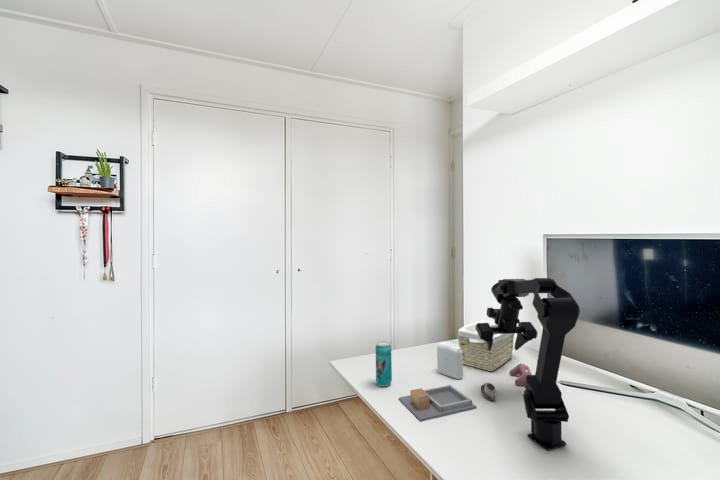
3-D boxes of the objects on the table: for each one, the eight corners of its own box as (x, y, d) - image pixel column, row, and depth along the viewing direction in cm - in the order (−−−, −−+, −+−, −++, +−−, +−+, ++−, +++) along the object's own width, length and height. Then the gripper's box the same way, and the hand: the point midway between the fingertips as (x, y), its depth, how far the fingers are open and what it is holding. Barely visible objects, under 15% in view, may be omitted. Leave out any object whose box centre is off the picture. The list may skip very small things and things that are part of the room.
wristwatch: (489, 403, 107) (489, 387, 107) (478, 394, 113) (477, 379, 113) (499, 401, 108) (498, 386, 108) (487, 393, 114) (486, 378, 114)
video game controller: (526, 391, 118) (536, 374, 117) (514, 384, 119) (523, 367, 118) (519, 379, 128) (527, 363, 127) (507, 373, 128) (516, 357, 128)
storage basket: (480, 349, 157) (480, 318, 156) (516, 357, 145) (516, 324, 145) (456, 364, 139) (455, 329, 139) (495, 375, 128) (494, 337, 128)
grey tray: (476, 408, 104) (476, 393, 104) (420, 421, 97) (420, 405, 97) (449, 388, 117) (449, 375, 117) (398, 399, 110) (398, 385, 110)
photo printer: (435, 372, 132) (435, 341, 131) (442, 369, 134) (442, 338, 134) (458, 380, 124) (457, 347, 123) (464, 377, 126) (464, 345, 126)
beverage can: (373, 385, 120) (372, 344, 120) (380, 379, 126) (379, 340, 125) (388, 389, 118) (387, 346, 118) (394, 382, 123) (393, 342, 123)
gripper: (526, 298, 117) (519, 333, 124) (473, 299, 117) (468, 335, 124) (542, 318, 107) (533, 355, 113) (483, 319, 107) (478, 356, 114)
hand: (502, 349), depth 116 cm, fingers open, 9 cm apart
